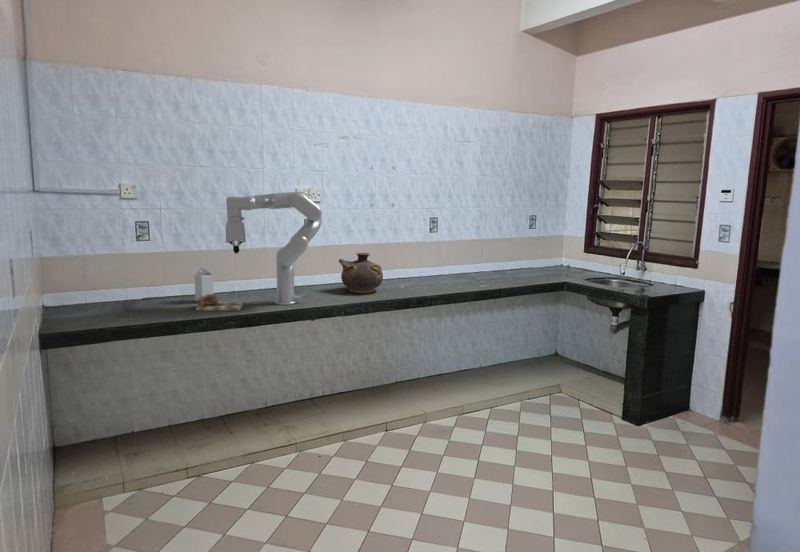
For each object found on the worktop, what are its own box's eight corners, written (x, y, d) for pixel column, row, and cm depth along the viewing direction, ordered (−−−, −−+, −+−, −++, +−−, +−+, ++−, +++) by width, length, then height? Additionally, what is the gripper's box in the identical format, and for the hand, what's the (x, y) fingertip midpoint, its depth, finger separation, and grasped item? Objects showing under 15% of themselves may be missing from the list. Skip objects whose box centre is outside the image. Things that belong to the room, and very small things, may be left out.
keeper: (218, 303, 293) (218, 294, 292) (216, 305, 287) (216, 296, 286) (206, 303, 292) (206, 294, 291) (204, 305, 286) (204, 296, 285)
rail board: (242, 305, 298) (242, 295, 297) (239, 310, 287) (239, 299, 286) (200, 305, 294) (200, 295, 293) (196, 310, 283) (196, 300, 282)
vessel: (331, 289, 349) (333, 251, 346) (365, 287, 368) (367, 251, 365) (357, 296, 329) (359, 255, 326) (391, 293, 348) (393, 255, 345)
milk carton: (206, 299, 310) (205, 266, 307) (213, 301, 306) (212, 268, 303) (195, 301, 305) (194, 267, 302) (202, 303, 300) (201, 269, 297)
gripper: (249, 218, 299) (251, 251, 302) (221, 219, 296) (223, 252, 299) (248, 219, 291) (250, 253, 295) (219, 220, 288) (221, 254, 292)
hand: (236, 253), depth 297 cm, fingers closed
